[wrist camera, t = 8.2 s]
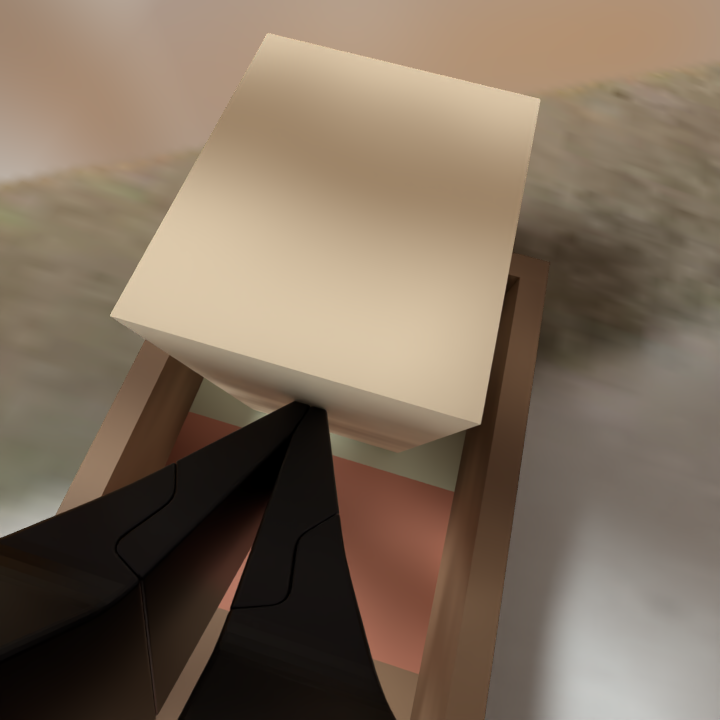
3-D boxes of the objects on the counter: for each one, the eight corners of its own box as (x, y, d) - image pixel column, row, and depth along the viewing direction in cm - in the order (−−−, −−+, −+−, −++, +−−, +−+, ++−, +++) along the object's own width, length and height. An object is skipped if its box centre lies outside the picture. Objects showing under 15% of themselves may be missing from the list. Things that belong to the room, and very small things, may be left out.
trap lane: (331, 1269, 9) (320, 1860, 5) (-125, 1074, 10) (-435, 1470, 6) (505, 308, 17) (549, 262, 13) (253, 239, 18) (228, 176, 14)
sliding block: (397, 453, 14) (481, 424, 5) (253, 409, 14) (110, 315, 6) (435, 299, 16) (540, 99, 7) (309, 264, 16) (267, 32, 8)
